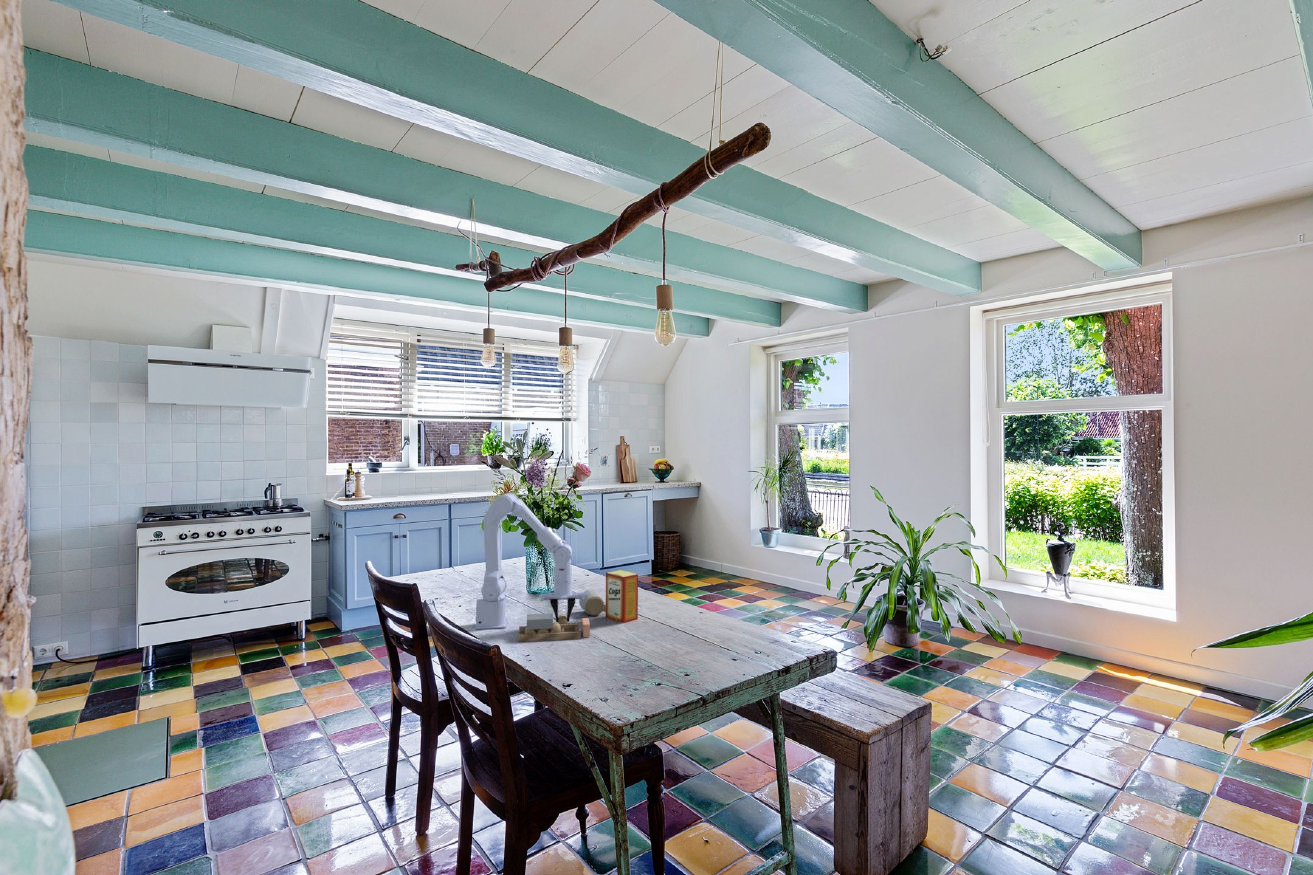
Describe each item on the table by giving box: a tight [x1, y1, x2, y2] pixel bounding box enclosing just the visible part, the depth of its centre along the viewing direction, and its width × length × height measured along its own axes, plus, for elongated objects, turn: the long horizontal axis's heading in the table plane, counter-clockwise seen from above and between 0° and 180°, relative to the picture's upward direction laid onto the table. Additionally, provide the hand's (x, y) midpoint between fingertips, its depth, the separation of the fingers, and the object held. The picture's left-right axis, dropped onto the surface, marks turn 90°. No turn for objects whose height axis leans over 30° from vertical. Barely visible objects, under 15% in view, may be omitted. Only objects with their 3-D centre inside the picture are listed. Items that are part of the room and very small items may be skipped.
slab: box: [526, 612, 554, 630], centre depth 200 cm, size 8×6×3 cm
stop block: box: [581, 617, 591, 638], centre depth 202 cm, size 2×7×4 cm, turn 10°
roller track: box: [517, 621, 581, 643], centre depth 200 cm, size 19×9×3 cm, turn 101°
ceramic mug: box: [578, 589, 606, 616], centre depth 226 cm, size 11×8×8 cm
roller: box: [557, 613, 569, 624], centre depth 211 cm, size 6×3×3 cm, turn 11°
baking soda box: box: [605, 569, 639, 624], centre depth 220 cm, size 10×6×16 cm
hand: (562, 621), depth 211 cm, fingers closed on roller, 3 cm apart
